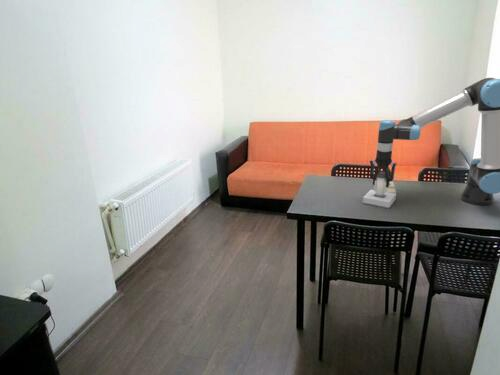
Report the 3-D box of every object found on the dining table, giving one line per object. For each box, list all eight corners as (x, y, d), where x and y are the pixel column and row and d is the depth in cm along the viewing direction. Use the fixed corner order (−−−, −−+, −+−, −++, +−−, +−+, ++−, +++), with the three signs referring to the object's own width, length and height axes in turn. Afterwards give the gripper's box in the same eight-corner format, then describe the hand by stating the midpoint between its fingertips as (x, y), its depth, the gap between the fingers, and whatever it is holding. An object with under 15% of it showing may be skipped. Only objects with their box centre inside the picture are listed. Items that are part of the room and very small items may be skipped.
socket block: (395, 199, 195) (396, 193, 193) (388, 208, 184) (389, 202, 183) (370, 195, 202) (370, 189, 201) (362, 203, 192) (363, 197, 190)
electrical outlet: (383, 190, 199) (380, 180, 215) (382, 197, 200) (379, 186, 216) (396, 191, 197) (392, 180, 213) (396, 197, 198) (392, 186, 215)
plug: (385, 193, 192) (387, 172, 188) (383, 196, 188) (385, 175, 184) (376, 191, 195) (378, 171, 191) (374, 194, 191) (376, 173, 187)
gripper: (403, 150, 181) (398, 192, 189) (369, 146, 191) (366, 186, 199) (400, 153, 175) (395, 196, 183) (365, 149, 185) (361, 190, 193)
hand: (380, 191), depth 191 cm, fingers closed on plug, 4 cm apart
